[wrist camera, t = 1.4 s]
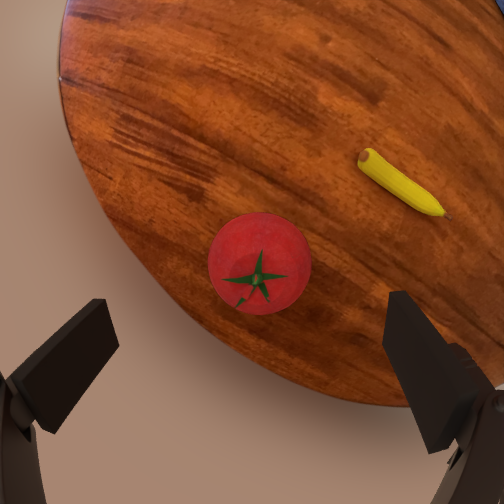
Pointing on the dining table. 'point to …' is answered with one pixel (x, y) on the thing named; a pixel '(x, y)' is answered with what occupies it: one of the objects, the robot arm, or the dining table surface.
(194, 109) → the dining table surface
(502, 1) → the bowl
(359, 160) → the fruit
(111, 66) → the dining table surface
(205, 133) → the dining table surface
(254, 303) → the tomato
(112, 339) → the robot arm
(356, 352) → the dining table surface
